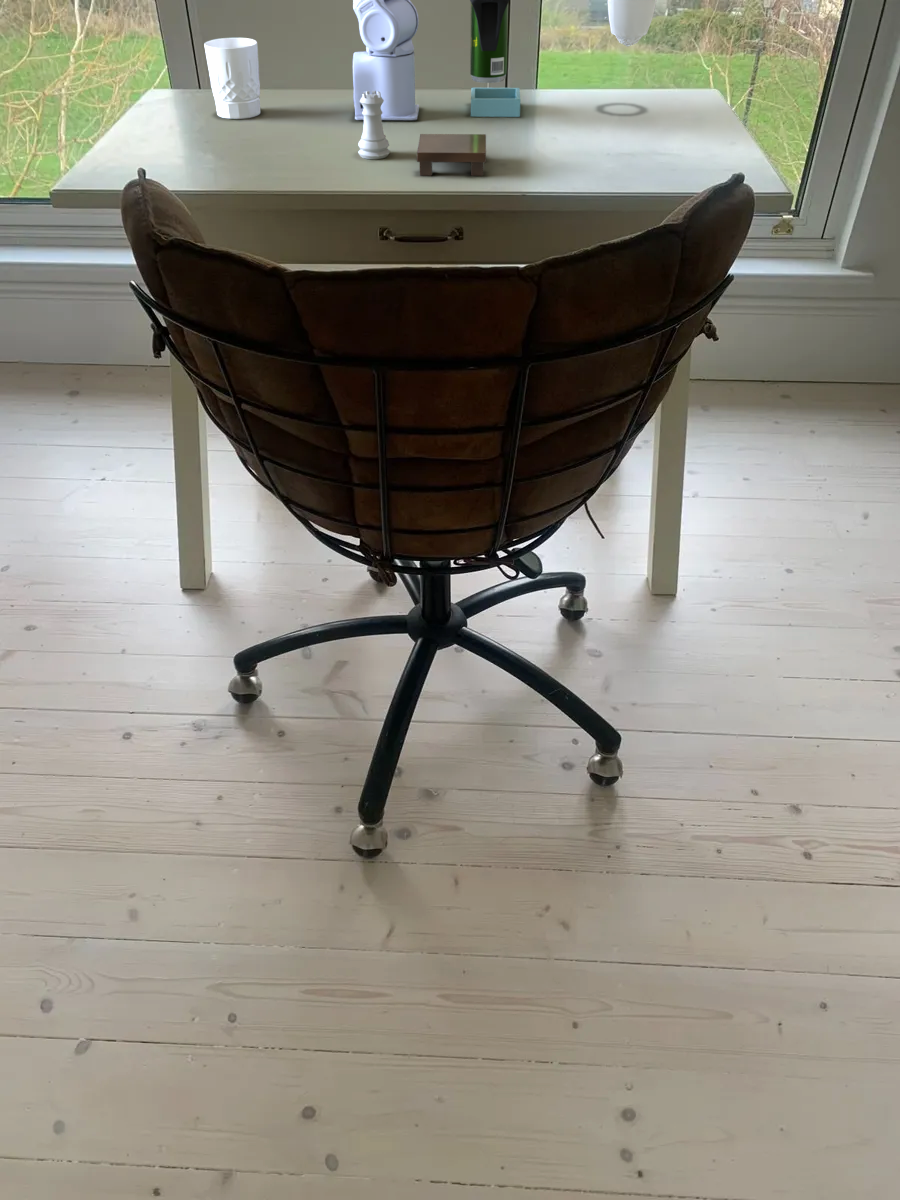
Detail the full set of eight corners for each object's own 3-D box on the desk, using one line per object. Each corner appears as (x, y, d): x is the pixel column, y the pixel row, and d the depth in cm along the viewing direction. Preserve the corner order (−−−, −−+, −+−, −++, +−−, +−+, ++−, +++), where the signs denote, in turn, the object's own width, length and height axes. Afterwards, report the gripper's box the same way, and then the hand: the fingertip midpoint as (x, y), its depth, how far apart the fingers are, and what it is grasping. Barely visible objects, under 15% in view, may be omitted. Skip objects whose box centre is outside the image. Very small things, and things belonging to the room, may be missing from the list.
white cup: (274, 111, 166) (267, 40, 159) (244, 122, 160) (236, 50, 154) (233, 105, 168) (225, 35, 162) (203, 116, 163) (193, 45, 157)
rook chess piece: (394, 158, 145) (392, 95, 140) (363, 161, 144) (359, 98, 139) (384, 149, 149) (382, 88, 144) (354, 152, 147) (350, 90, 143)
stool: (417, 176, 139) (416, 152, 137) (420, 156, 146) (420, 133, 144) (485, 176, 139) (485, 152, 137) (485, 157, 146) (486, 134, 144)
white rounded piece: (654, 110, 165) (671, -43, 152) (619, 117, 162) (633, -39, 149) (624, 101, 170) (637, -49, 157) (589, 107, 167) (600, -45, 154)
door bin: (470, 116, 163) (471, 99, 161) (471, 104, 169) (471, 87, 167) (519, 116, 163) (520, 99, 161) (518, 104, 169) (519, 87, 167)
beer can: (514, 79, 156) (516, -14, 149) (486, 85, 153) (488, -9, 146) (489, 73, 159) (491, -18, 152) (462, 78, 157) (462, -14, 149)
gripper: (521, -57, 140) (517, 56, 148) (517, -70, 151) (514, 36, 159) (467, -57, 140) (467, 57, 148) (468, -69, 151) (467, 36, 159)
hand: (488, 46), depth 154 cm, fingers closed on beer can, 5 cm apart
